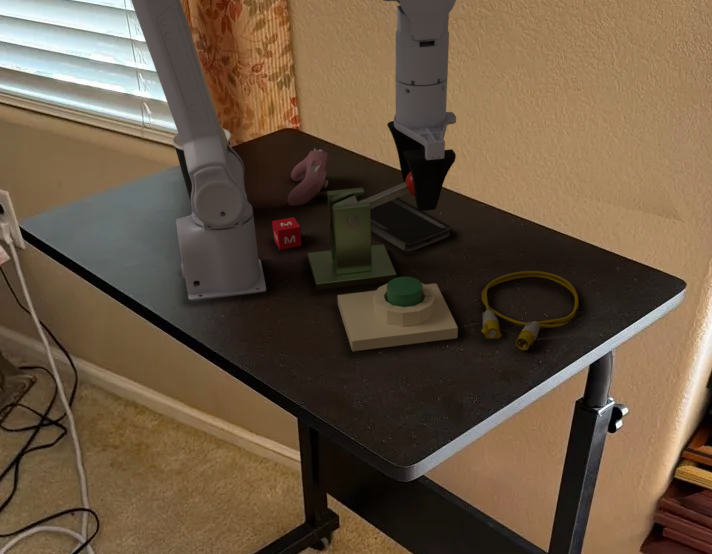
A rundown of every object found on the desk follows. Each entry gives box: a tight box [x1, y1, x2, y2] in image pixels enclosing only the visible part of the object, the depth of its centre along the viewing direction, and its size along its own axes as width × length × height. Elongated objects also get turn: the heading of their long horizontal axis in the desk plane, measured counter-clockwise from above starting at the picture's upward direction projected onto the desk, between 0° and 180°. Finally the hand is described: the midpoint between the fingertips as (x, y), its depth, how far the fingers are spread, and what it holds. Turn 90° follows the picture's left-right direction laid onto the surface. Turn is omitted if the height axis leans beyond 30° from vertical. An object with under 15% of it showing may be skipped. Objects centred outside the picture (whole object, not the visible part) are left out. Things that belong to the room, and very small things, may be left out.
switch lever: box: [334, 172, 415, 209], centre depth 105 cm, size 12×3×3 cm, turn 100°
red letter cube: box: [271, 217, 302, 251], centre depth 116 cm, size 3×3×3 cm
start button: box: [386, 276, 423, 307], centre depth 99 cm, size 4×4×2 cm
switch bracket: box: [307, 187, 398, 291], centre depth 108 cm, size 10×8×10 cm
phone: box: [364, 192, 451, 252], centre depth 120 cm, size 8×1×15 cm
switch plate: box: [337, 282, 459, 352], centre depth 101 cm, size 12×10×4 cm
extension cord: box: [480, 270, 580, 351], centre depth 102 cm, size 12×16×2 cm
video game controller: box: [286, 147, 330, 207], centre depth 127 cm, size 10×5×7 cm, turn 179°
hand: (419, 195), depth 106 cm, fingers open, 7 cm apart
